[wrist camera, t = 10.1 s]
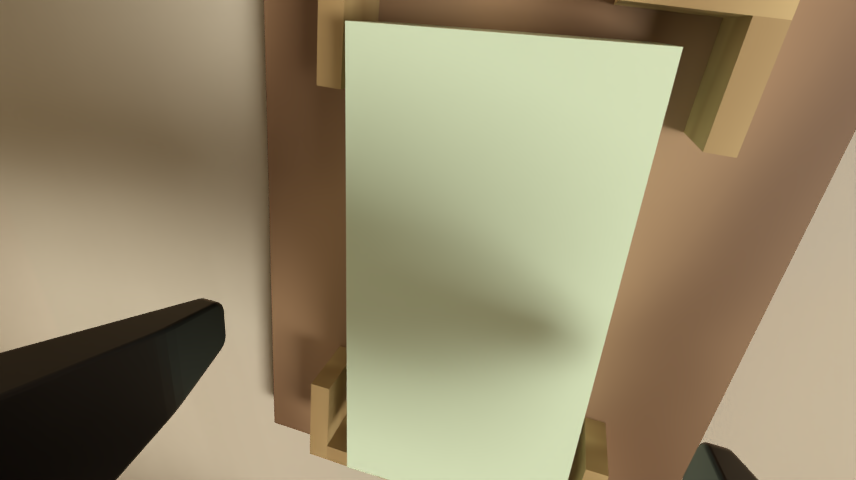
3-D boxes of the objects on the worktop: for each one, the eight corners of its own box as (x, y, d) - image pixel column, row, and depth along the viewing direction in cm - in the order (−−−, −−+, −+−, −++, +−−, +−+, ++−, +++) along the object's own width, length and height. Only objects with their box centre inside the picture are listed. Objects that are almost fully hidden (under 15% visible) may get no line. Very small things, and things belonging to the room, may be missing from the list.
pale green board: (657, 42, 11) (683, 46, 8) (559, 444, 16) (554, 530, 13) (397, 22, 12) (345, 20, 9) (383, 398, 17) (347, 467, 14)
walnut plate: (925, -83, 10) (1070, -129, 7) (644, 516, 17) (655, 610, 14) (287, -130, 12) (201, -176, 10) (290, 401, 20) (243, 462, 17)
